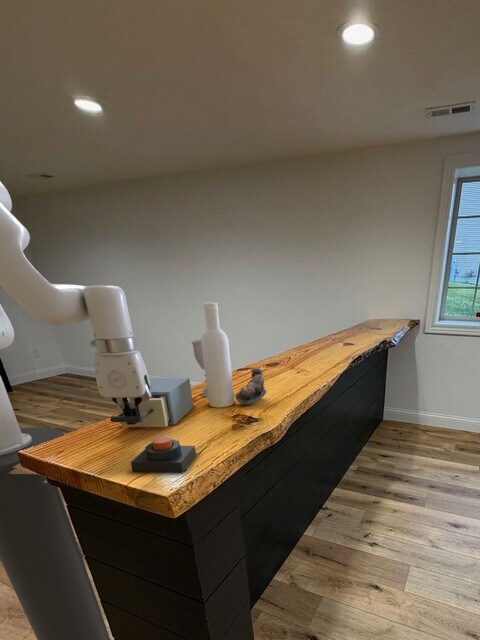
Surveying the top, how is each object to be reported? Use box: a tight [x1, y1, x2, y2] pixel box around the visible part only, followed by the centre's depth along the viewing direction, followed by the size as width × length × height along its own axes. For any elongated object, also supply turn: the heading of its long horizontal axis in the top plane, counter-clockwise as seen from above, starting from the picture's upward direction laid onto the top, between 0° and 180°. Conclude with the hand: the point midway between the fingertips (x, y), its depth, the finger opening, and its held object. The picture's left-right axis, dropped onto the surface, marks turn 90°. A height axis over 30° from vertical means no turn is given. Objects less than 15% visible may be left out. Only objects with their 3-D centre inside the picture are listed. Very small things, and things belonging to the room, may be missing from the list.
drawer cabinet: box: [149, 377, 194, 426], centre depth 98 cm, size 15×13×9 cm
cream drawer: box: [109, 395, 171, 428], centre depth 91 cm, size 21×11×7 cm, turn 0°
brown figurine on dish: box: [234, 367, 267, 406], centre depth 110 cm, size 12×7×10 cm, turn 160°
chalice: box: [190, 339, 208, 398], centre depth 116 cm, size 7×7×18 cm
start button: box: [151, 435, 172, 450], centre depth 71 cm, size 4×4×2 cm
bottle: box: [201, 302, 235, 408], centre depth 104 cm, size 8×8×30 cm
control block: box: [130, 439, 197, 473], centre depth 72 cm, size 10×8×4 cm
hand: (133, 422), depth 84 cm, fingers closed
